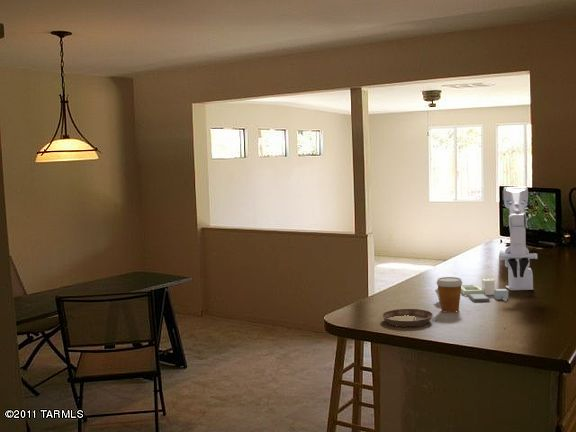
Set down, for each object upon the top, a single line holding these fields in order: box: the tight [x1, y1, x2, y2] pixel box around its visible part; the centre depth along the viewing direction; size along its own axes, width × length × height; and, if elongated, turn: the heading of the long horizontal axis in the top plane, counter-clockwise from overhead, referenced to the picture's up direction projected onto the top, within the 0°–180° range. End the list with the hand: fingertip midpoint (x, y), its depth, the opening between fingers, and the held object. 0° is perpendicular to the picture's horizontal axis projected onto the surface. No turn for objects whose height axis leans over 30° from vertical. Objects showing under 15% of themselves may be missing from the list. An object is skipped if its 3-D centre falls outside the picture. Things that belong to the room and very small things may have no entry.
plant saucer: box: [381, 308, 434, 328], centre depth 214 cm, size 18×18×3 cm
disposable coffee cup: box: [435, 276, 464, 313], centre depth 226 cm, size 10×10×12 cm
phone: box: [468, 294, 490, 303], centre depth 242 cm, size 6×9×1 cm, turn 177°
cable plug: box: [493, 288, 509, 302], centre depth 240 cm, size 4×8×4 cm, turn 177°
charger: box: [481, 277, 496, 296], centre depth 251 cm, size 4×4×7 cm
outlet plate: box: [460, 284, 484, 296], centre depth 256 cm, size 8×12×2 cm, turn 177°
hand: (518, 277), depth 241 cm, fingers closed
